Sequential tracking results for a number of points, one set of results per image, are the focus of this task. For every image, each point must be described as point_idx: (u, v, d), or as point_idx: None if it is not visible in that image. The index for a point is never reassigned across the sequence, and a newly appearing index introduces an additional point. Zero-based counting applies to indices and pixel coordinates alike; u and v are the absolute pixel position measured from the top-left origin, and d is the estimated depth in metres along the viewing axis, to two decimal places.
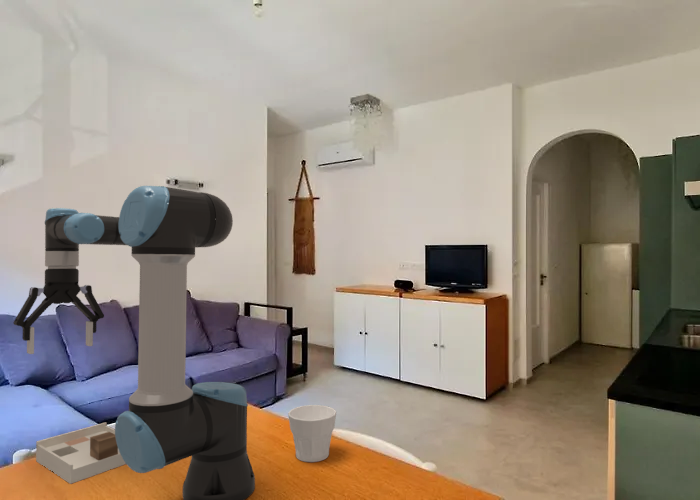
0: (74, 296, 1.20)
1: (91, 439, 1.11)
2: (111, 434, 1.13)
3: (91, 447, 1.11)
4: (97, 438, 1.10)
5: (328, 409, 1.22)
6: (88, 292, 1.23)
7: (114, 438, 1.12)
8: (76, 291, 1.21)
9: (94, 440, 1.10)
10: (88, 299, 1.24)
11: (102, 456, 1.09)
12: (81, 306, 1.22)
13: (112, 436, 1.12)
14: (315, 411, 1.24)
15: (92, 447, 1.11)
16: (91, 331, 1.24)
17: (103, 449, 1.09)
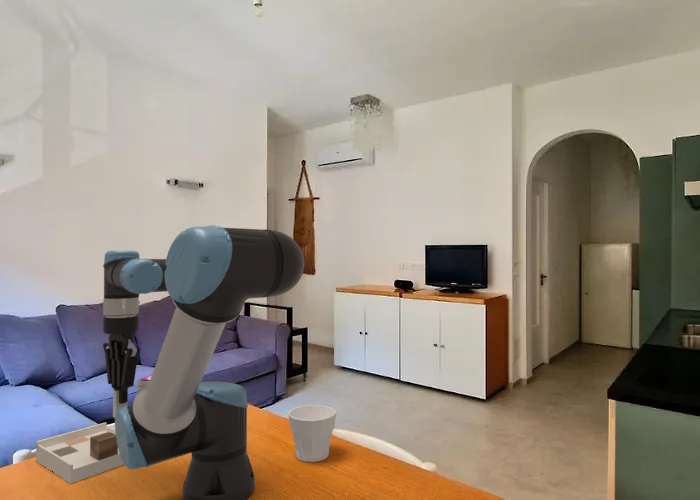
0: (116, 351, 1.06)
1: (91, 439, 1.11)
2: (111, 434, 1.13)
3: (91, 447, 1.11)
4: (97, 438, 1.10)
5: (328, 409, 1.22)
6: (126, 354, 1.04)
7: (114, 438, 1.12)
8: (122, 344, 1.05)
9: (94, 440, 1.10)
10: None
11: (102, 456, 1.09)
12: (117, 365, 1.06)
13: (112, 436, 1.12)
14: (315, 411, 1.24)
15: (92, 447, 1.11)
16: (115, 401, 1.06)
17: (103, 449, 1.09)
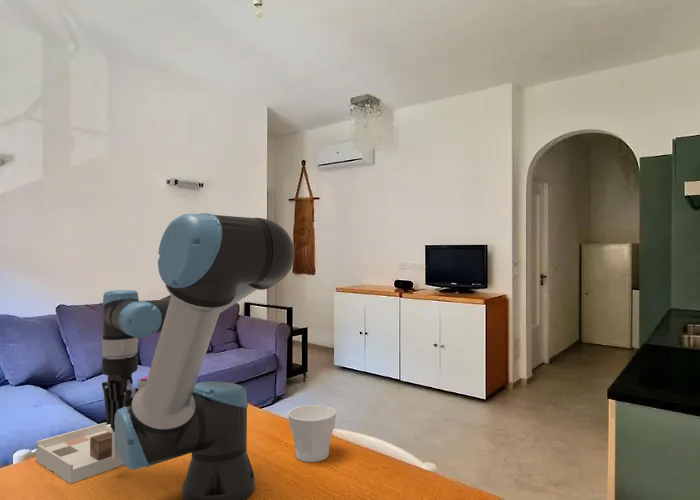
0: (115, 392, 1.05)
1: (91, 439, 1.11)
2: (111, 434, 1.13)
3: (91, 447, 1.11)
4: (97, 438, 1.10)
5: (328, 409, 1.22)
6: (125, 396, 1.04)
7: None
8: (121, 385, 1.05)
9: (94, 440, 1.10)
10: None
11: (102, 456, 1.09)
12: (116, 406, 1.06)
13: None
14: (315, 411, 1.24)
15: (92, 447, 1.11)
16: (114, 441, 1.06)
17: (103, 449, 1.09)
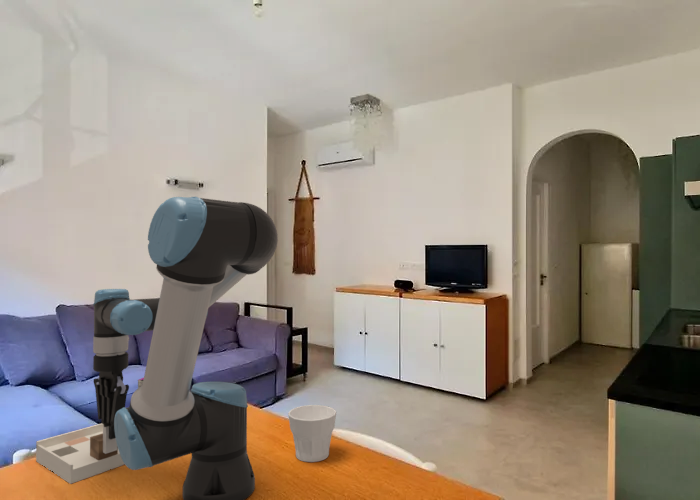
0: (106, 388, 1.08)
1: (91, 439, 1.11)
2: None
3: (91, 446, 1.11)
4: (97, 438, 1.10)
5: (328, 409, 1.22)
6: (115, 392, 1.07)
7: None
8: (111, 381, 1.08)
9: (94, 440, 1.10)
10: None
11: (102, 456, 1.09)
12: (107, 402, 1.09)
13: None
14: (315, 411, 1.24)
15: (92, 447, 1.11)
16: (105, 436, 1.09)
17: None
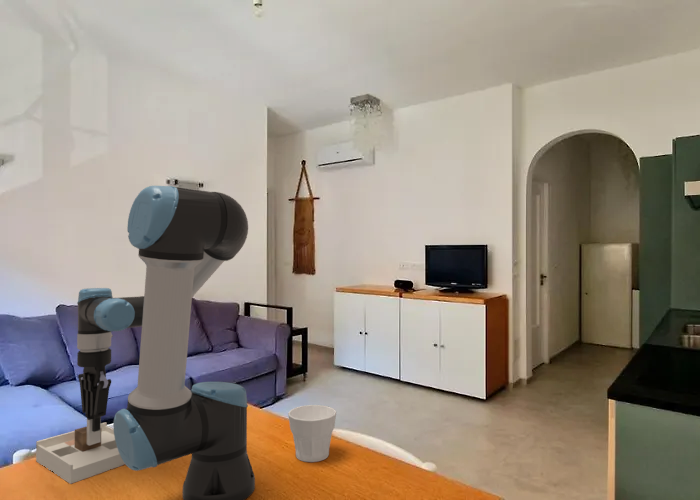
0: (89, 383, 1.13)
1: (75, 431, 1.16)
2: None
3: (75, 439, 1.16)
4: (81, 431, 1.15)
5: (328, 409, 1.22)
6: (98, 386, 1.12)
7: None
8: (95, 376, 1.13)
9: (78, 432, 1.15)
10: None
11: (86, 447, 1.14)
12: (90, 396, 1.14)
13: None
14: (315, 411, 1.24)
15: (76, 439, 1.16)
16: (88, 429, 1.14)
17: (86, 441, 1.15)
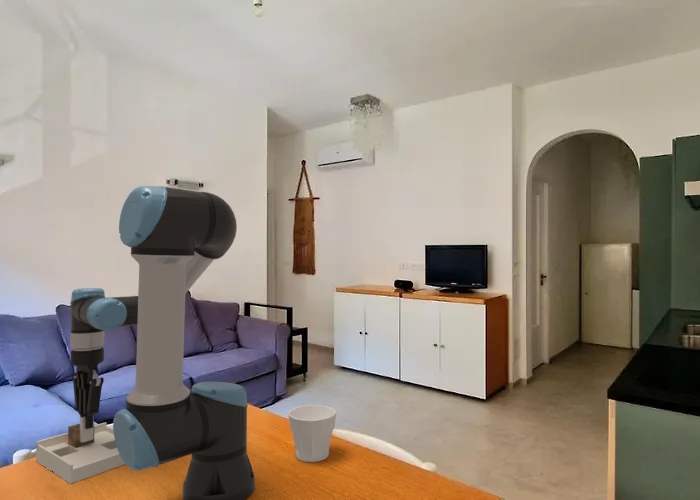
0: (82, 381, 1.16)
1: (69, 428, 1.18)
2: None
3: (69, 435, 1.18)
4: (75, 428, 1.18)
5: (328, 409, 1.22)
6: (90, 384, 1.14)
7: None
8: (87, 374, 1.15)
9: (72, 429, 1.17)
10: None
11: (79, 444, 1.17)
12: (83, 394, 1.16)
13: None
14: (315, 411, 1.24)
15: (70, 436, 1.18)
16: (81, 426, 1.16)
17: None
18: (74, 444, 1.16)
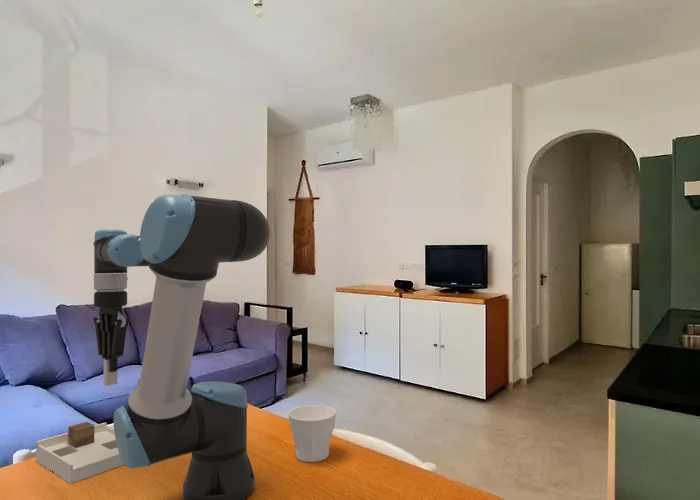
0: (106, 323, 1.13)
1: (69, 428, 1.18)
2: (88, 424, 1.20)
3: (69, 435, 1.18)
4: (75, 428, 1.18)
5: (328, 409, 1.22)
6: (116, 325, 1.12)
7: (91, 427, 1.19)
8: (112, 316, 1.13)
9: (72, 429, 1.17)
10: None
11: (79, 444, 1.17)
12: (108, 336, 1.14)
13: (89, 425, 1.19)
14: (315, 411, 1.24)
15: (70, 436, 1.18)
16: (105, 369, 1.14)
17: (80, 438, 1.17)
18: (74, 444, 1.16)
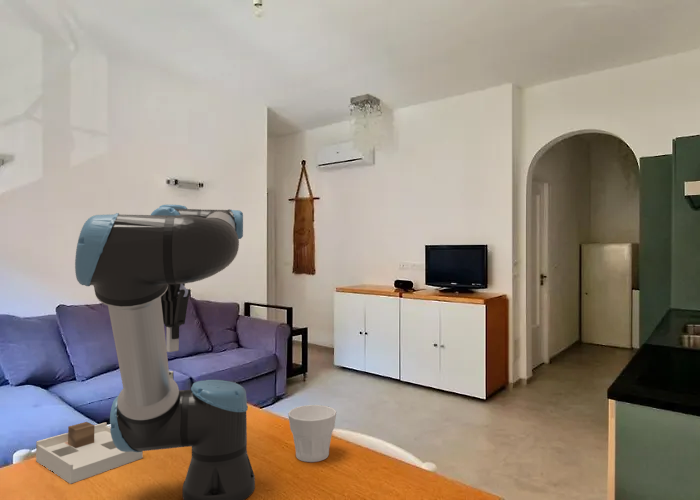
0: (170, 293, 1.20)
1: (69, 428, 1.18)
2: (88, 424, 1.20)
3: (69, 435, 1.18)
4: (75, 428, 1.18)
5: (328, 409, 1.22)
6: (179, 295, 1.19)
7: (91, 427, 1.19)
8: (175, 286, 1.20)
9: (72, 429, 1.17)
10: None
11: (79, 444, 1.17)
12: (170, 305, 1.21)
13: (89, 425, 1.19)
14: (315, 411, 1.24)
15: (70, 436, 1.18)
16: (168, 337, 1.21)
17: (80, 438, 1.17)
18: (74, 444, 1.16)
